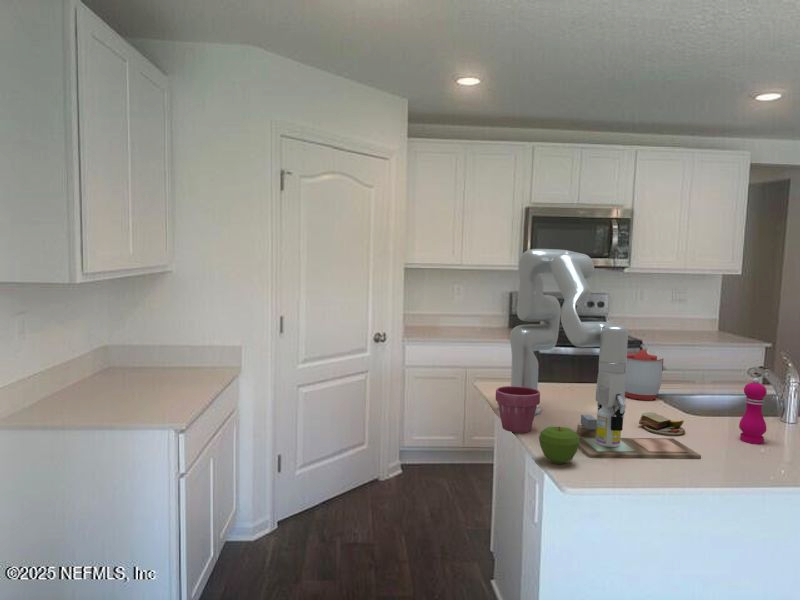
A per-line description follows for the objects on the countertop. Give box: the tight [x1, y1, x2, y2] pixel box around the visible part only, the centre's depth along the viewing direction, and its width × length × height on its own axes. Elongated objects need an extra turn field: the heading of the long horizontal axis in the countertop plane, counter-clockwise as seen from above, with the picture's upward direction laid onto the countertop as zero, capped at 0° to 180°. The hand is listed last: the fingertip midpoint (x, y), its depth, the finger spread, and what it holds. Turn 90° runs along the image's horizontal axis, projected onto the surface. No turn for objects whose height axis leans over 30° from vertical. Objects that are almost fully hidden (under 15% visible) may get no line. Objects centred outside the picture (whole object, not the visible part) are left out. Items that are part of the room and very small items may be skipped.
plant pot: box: [495, 385, 541, 434], centre depth 183 cm, size 14×14×13 cm
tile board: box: [578, 436, 702, 460], centre depth 166 cm, size 32×15×1 cm, turn 92°
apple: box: [538, 425, 580, 465], centre depth 153 cm, size 11×10×10 cm
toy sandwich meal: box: [638, 411, 686, 437], centre depth 186 cm, size 12×14×5 cm
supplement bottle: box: [595, 406, 622, 447], centre depth 165 cm, size 7×7×13 cm
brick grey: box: [580, 414, 597, 429], centre depth 178 cm, size 6×3×3 cm, turn 1°
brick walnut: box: [576, 424, 597, 438], centre depth 178 cm, size 6×3×3 cm, turn 90°
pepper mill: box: [738, 377, 768, 445], centre depth 176 cm, size 7×7×20 cm
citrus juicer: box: [624, 348, 667, 401], centre depth 230 cm, size 16×17×20 cm
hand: (609, 425), depth 165 cm, fingers open, 9 cm apart
